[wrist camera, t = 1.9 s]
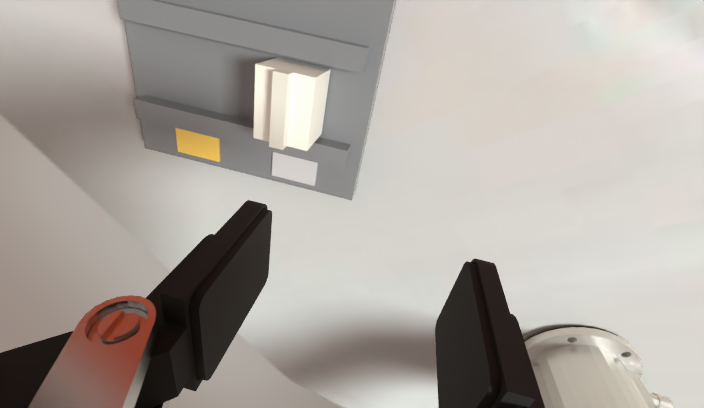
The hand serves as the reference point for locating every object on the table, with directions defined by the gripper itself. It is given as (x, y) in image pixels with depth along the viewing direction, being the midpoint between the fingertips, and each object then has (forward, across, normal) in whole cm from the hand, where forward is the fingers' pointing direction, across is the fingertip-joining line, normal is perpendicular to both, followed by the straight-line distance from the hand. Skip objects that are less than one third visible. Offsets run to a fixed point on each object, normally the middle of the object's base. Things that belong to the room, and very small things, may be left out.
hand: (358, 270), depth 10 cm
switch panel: (+20, +12, 0) cm, 23 cm away
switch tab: (+17, +8, 0) cm, 19 cm away
